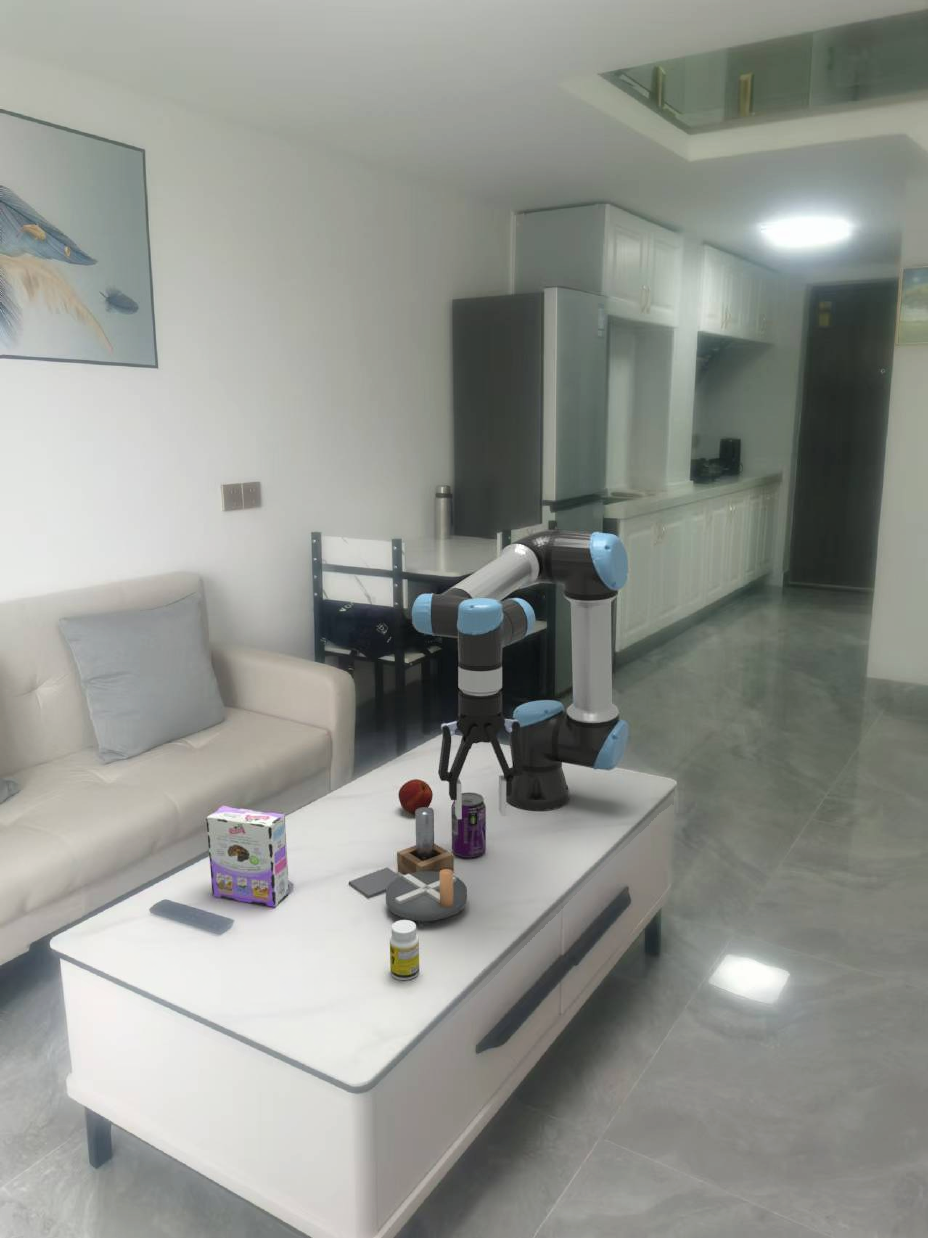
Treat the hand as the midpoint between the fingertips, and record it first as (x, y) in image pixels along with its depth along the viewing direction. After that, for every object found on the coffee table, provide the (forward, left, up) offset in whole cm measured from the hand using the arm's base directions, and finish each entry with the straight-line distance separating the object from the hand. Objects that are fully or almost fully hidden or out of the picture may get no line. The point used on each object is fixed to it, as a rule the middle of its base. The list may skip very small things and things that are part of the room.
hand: (480, 814), depth 163 cm
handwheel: (+5, -9, -18) cm, 21 cm away
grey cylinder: (-3, -20, -20) cm, 29 cm away
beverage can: (-15, -21, -20) cm, 33 cm away
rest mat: (+7, -22, -20) cm, 31 cm away
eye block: (-3, -20, -20) cm, 29 cm away
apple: (-18, -44, -20) cm, 52 cm away
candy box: (+28, -34, -20) cm, 49 cm away
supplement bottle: (+20, +5, -20) cm, 29 cm away
